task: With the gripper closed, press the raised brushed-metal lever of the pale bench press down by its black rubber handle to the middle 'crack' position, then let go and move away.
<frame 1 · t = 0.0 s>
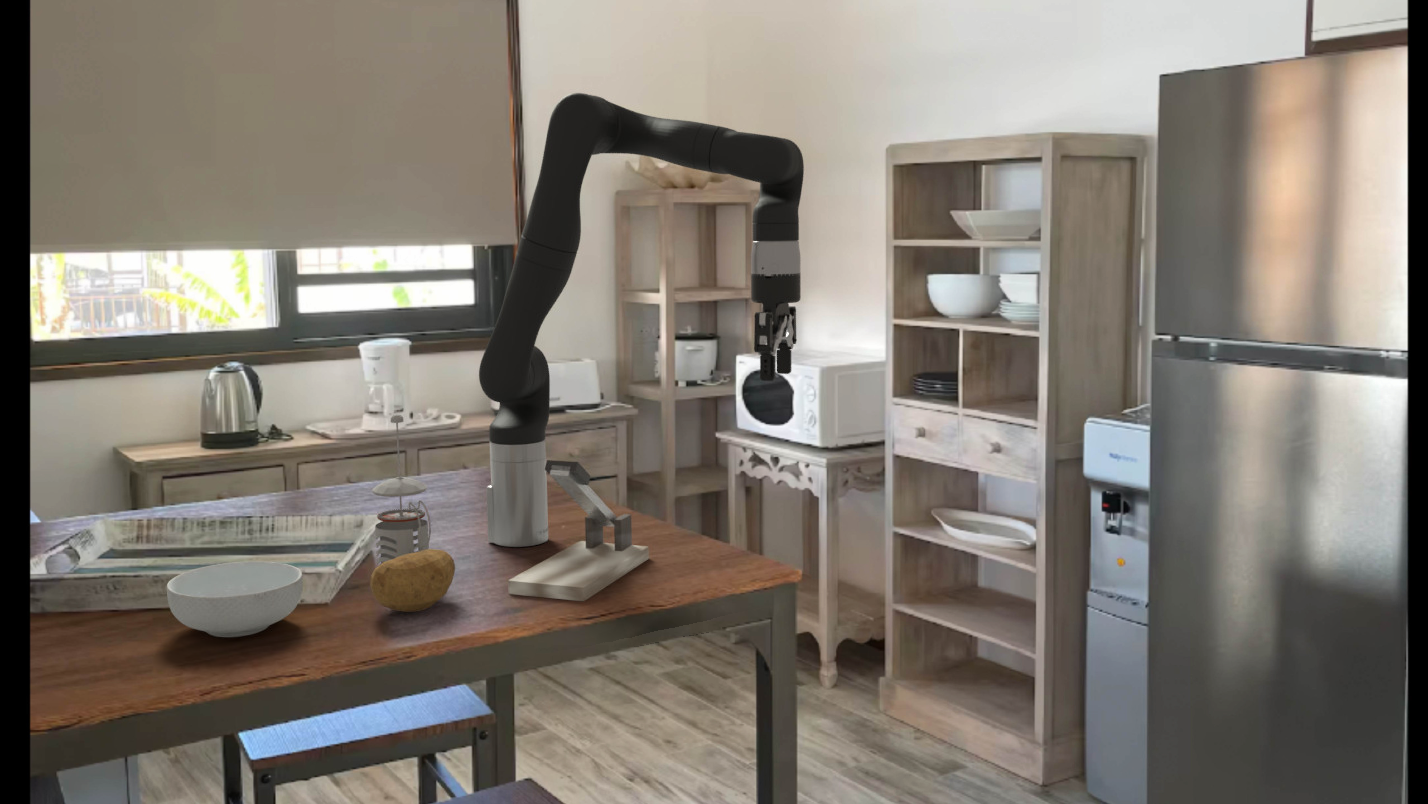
hand: (776, 376, 197), 29 cm above the table, fingers open, 8 cm apart
press base: (582, 575, 195), on the table
french press: (407, 578, 195), on the table
lever: (586, 495, 195), point 12 cm above the table, hinge at 35.0°
cereal bowl: (238, 629, 172), on the table
potato: (416, 609, 179), on the table
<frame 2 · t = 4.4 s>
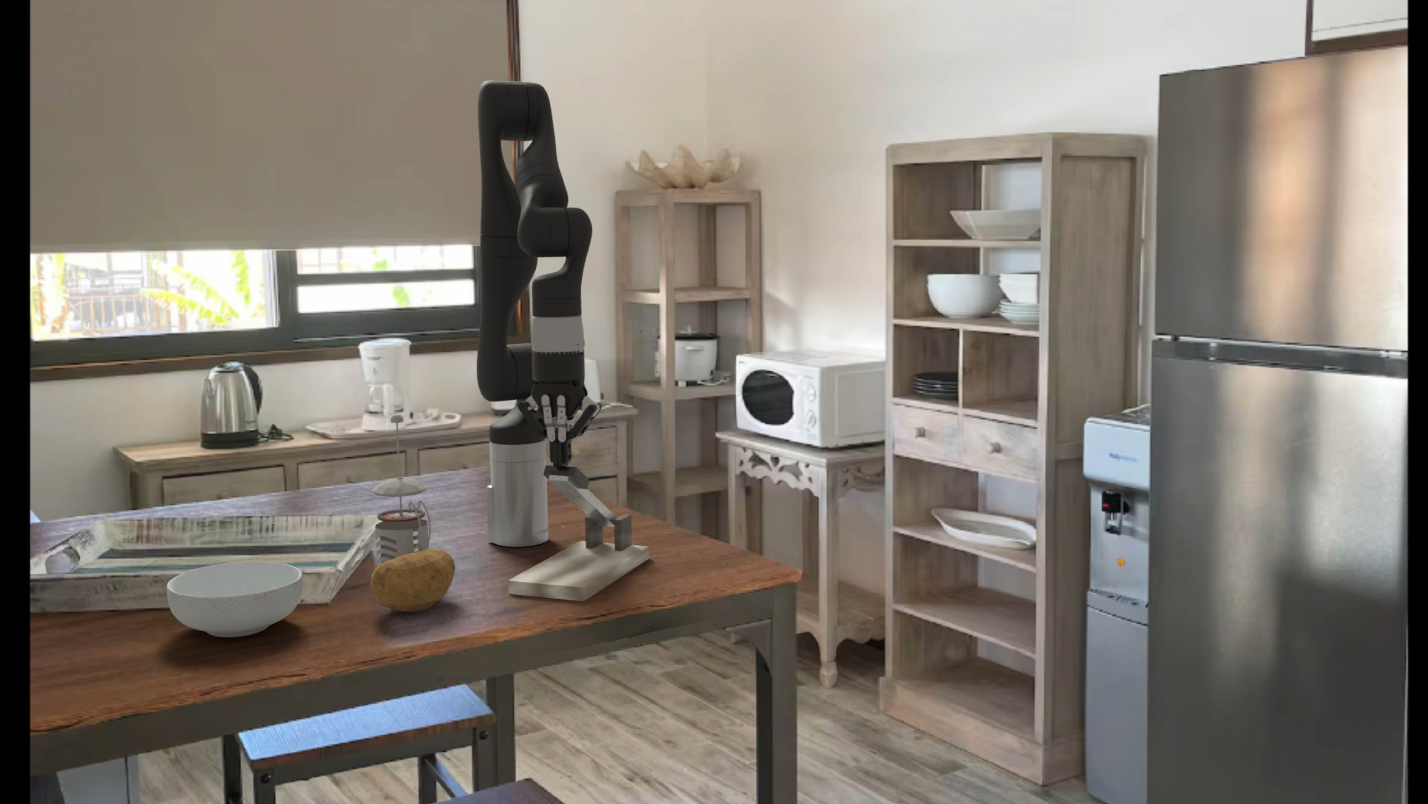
hand: (561, 466, 187), 18 cm above the table, fingers closed
lever: (586, 498, 195), point 12 cm above the table, hinge at 32.6°, touching gripper
everything else where it was.
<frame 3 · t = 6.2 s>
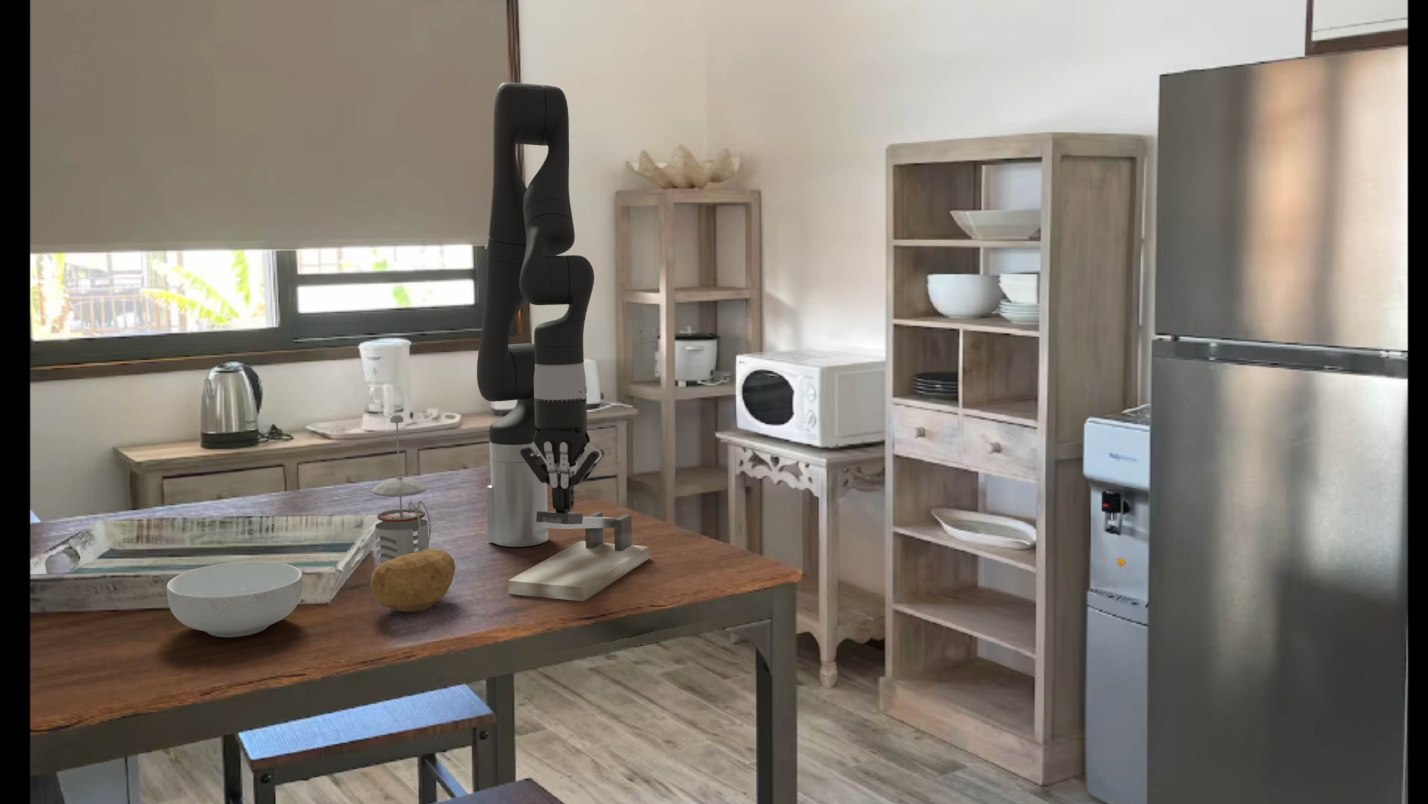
hand: (563, 512, 187), 11 cm above the table, fingers closed
lever: (582, 519, 194), point 8 cm above the table, hinge at 12.6°, touching gripper
everything else where it was.
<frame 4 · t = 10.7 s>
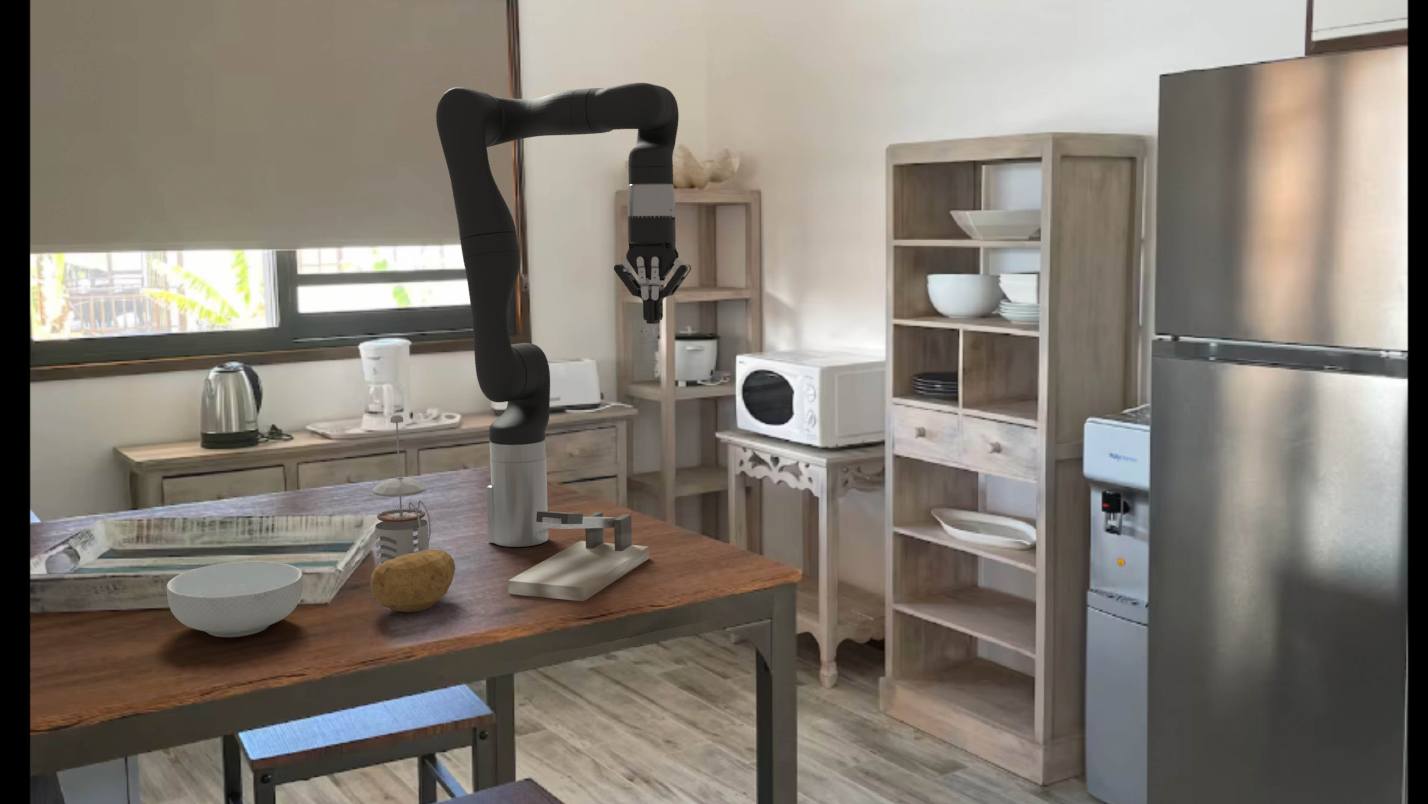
hand: (653, 323, 205), 37 cm above the table, fingers closed
lever: (582, 519, 194), point 8 cm above the table, hinge at 12.6°
everything else where it was.
at the end: lever at +13° (first picture: +35°) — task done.
